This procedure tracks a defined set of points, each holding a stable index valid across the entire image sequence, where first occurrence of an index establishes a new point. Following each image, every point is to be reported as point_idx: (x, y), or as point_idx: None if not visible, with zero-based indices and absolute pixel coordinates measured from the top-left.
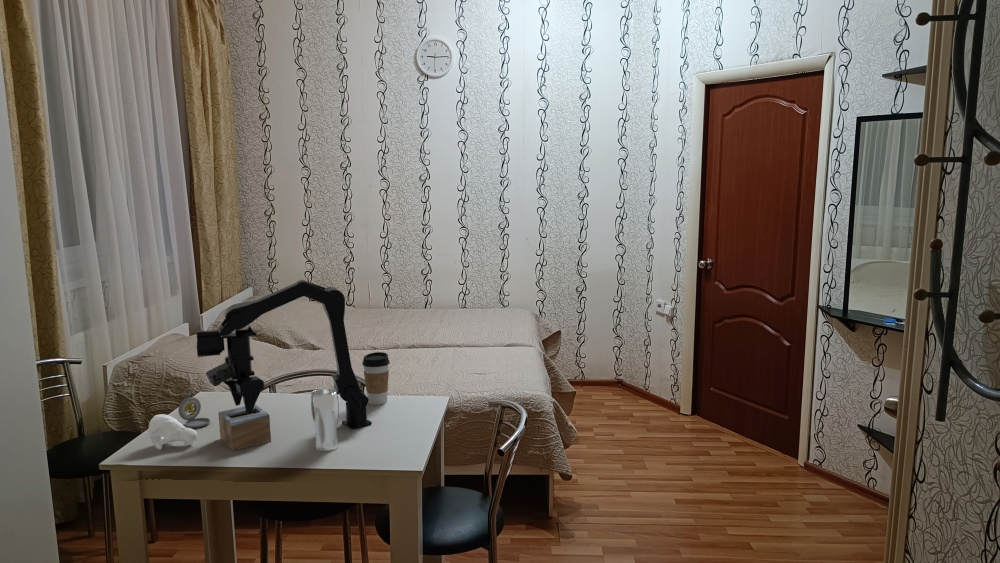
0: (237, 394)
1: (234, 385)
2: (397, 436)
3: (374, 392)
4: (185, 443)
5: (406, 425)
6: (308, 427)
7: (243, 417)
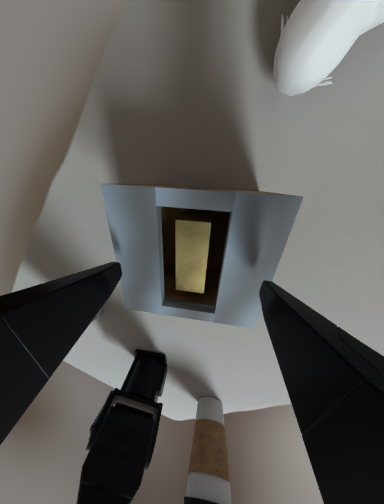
0: (288, 337)
1: (364, 435)
2: (88, 357)
3: (199, 422)
4: (282, 27)
5: (116, 375)
6: (182, 328)
7: (141, 247)
